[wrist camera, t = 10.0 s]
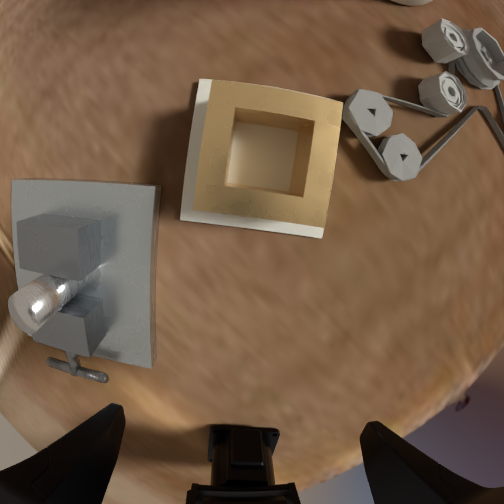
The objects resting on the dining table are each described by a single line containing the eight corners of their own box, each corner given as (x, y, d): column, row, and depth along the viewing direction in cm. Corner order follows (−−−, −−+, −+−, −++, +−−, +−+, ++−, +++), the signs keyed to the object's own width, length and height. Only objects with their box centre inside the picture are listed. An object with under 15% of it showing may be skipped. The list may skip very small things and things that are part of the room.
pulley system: (322, -4, 15) (338, 178, 18) (342, -38, 10) (371, 176, 13) (524, 82, 17) (536, 203, 20) (550, 77, 12) (564, 208, 15)
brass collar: (305, 215, 18) (324, 228, 14) (202, 201, 17) (192, 209, 13) (321, 116, 16) (343, 102, 12) (217, 99, 16) (212, 79, 12)
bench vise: (156, 367, 21) (132, 436, 14) (38, 337, 20) (-6, 383, 13) (161, 185, 17) (114, 195, 10) (23, 178, 16) (-45, 189, 9)
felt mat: (319, 236, 19) (321, 238, 18) (181, 218, 18) (180, 220, 18) (340, 103, 16) (342, 102, 16) (200, 81, 16) (199, 78, 15)
